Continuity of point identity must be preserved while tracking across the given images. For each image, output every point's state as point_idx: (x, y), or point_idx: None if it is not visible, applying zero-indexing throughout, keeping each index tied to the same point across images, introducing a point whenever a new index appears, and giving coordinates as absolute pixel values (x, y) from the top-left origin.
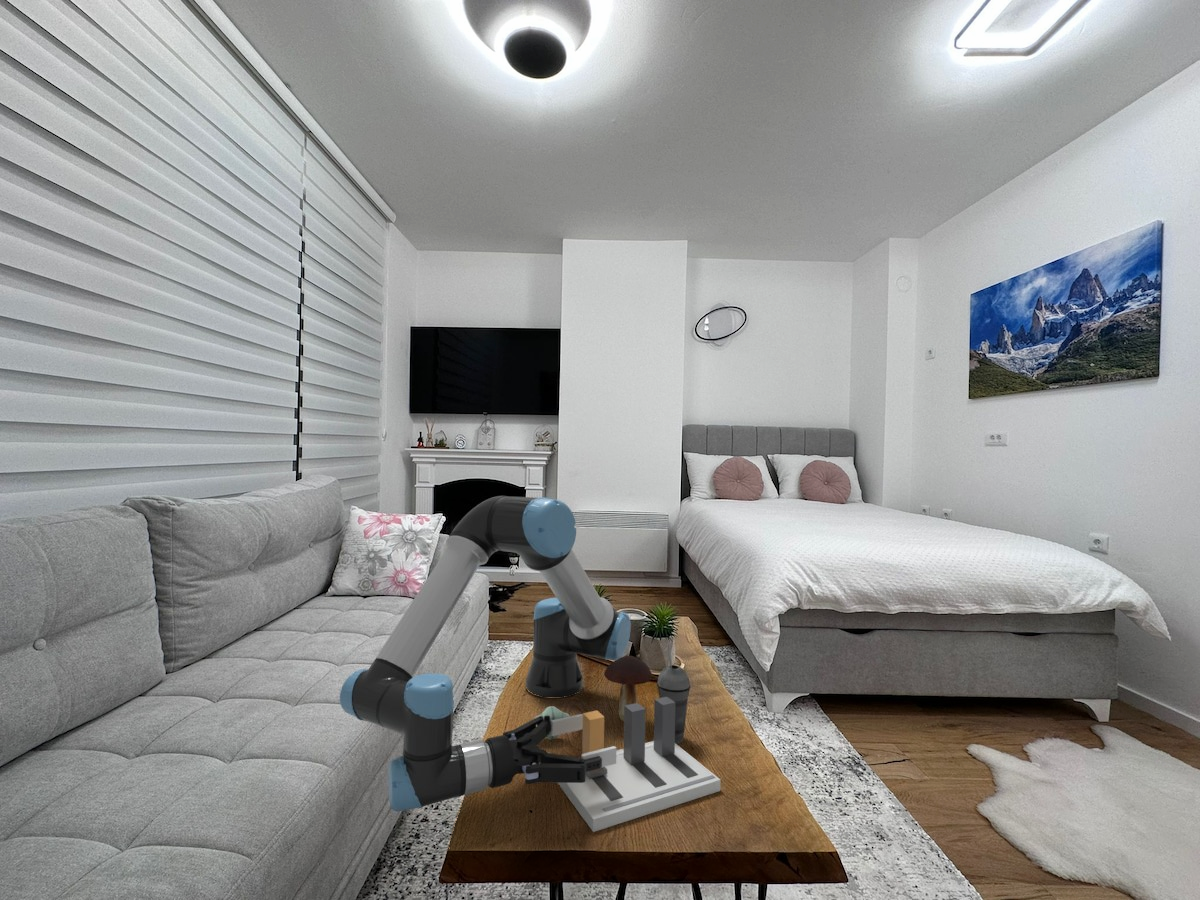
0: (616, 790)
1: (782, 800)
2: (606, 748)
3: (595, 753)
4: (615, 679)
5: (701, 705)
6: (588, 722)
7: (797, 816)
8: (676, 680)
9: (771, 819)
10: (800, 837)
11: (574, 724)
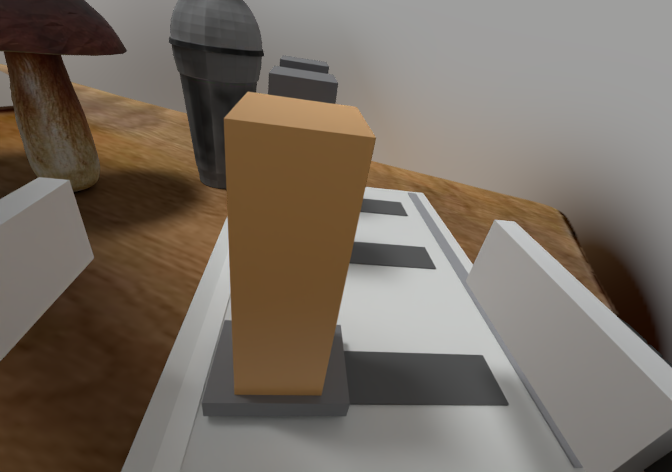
0: (442, 356)
1: (450, 184)
2: (526, 249)
3: (612, 313)
4: (6, 38)
5: (168, 124)
6: (341, 166)
7: (486, 191)
8: (251, 21)
9: (494, 208)
10: (532, 208)
11: (41, 260)
